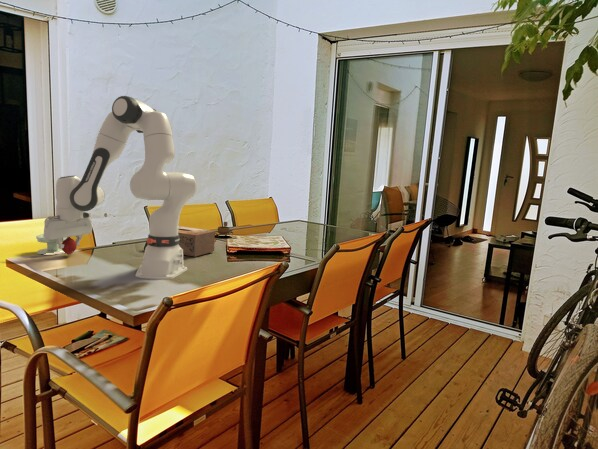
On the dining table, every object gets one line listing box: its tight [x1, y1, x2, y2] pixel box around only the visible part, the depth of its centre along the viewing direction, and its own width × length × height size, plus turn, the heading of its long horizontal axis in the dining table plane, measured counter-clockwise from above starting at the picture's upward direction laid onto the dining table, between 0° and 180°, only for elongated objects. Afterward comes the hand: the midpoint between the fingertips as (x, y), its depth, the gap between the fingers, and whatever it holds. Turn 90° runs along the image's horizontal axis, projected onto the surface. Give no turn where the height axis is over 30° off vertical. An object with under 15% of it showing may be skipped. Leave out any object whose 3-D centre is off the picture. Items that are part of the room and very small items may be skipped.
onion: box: [61, 237, 78, 255], centre depth 182 cm, size 6×6×8 cm
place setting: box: [214, 221, 235, 236], centre depth 260 cm, size 18×20×6 cm
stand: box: [35, 233, 67, 255], centre depth 187 cm, size 11×11×8 cm
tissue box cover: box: [178, 225, 216, 257], centre depth 208 cm, size 26×14×10 cm, turn 65°
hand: (69, 247), depth 182 cm, fingers closed on onion, 6 cm apart
